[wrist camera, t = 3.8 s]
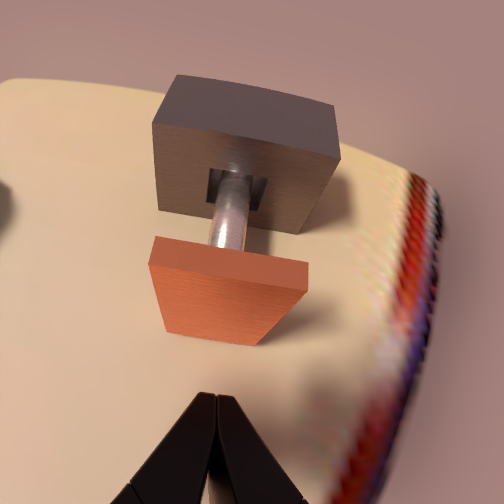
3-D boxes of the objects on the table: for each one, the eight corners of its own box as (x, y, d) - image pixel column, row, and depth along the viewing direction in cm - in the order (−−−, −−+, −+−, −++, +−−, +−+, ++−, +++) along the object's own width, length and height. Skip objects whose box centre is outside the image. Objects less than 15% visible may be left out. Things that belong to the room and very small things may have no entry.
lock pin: (254, 345, 18) (307, 290, 10) (166, 332, 17) (148, 264, 10) (270, 172, 24) (304, 74, 16) (205, 160, 24) (218, 56, 16)
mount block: (297, 234, 23) (341, 159, 16) (158, 210, 22) (151, 122, 15) (298, 182, 26) (333, 105, 19) (174, 159, 24) (177, 74, 17)
